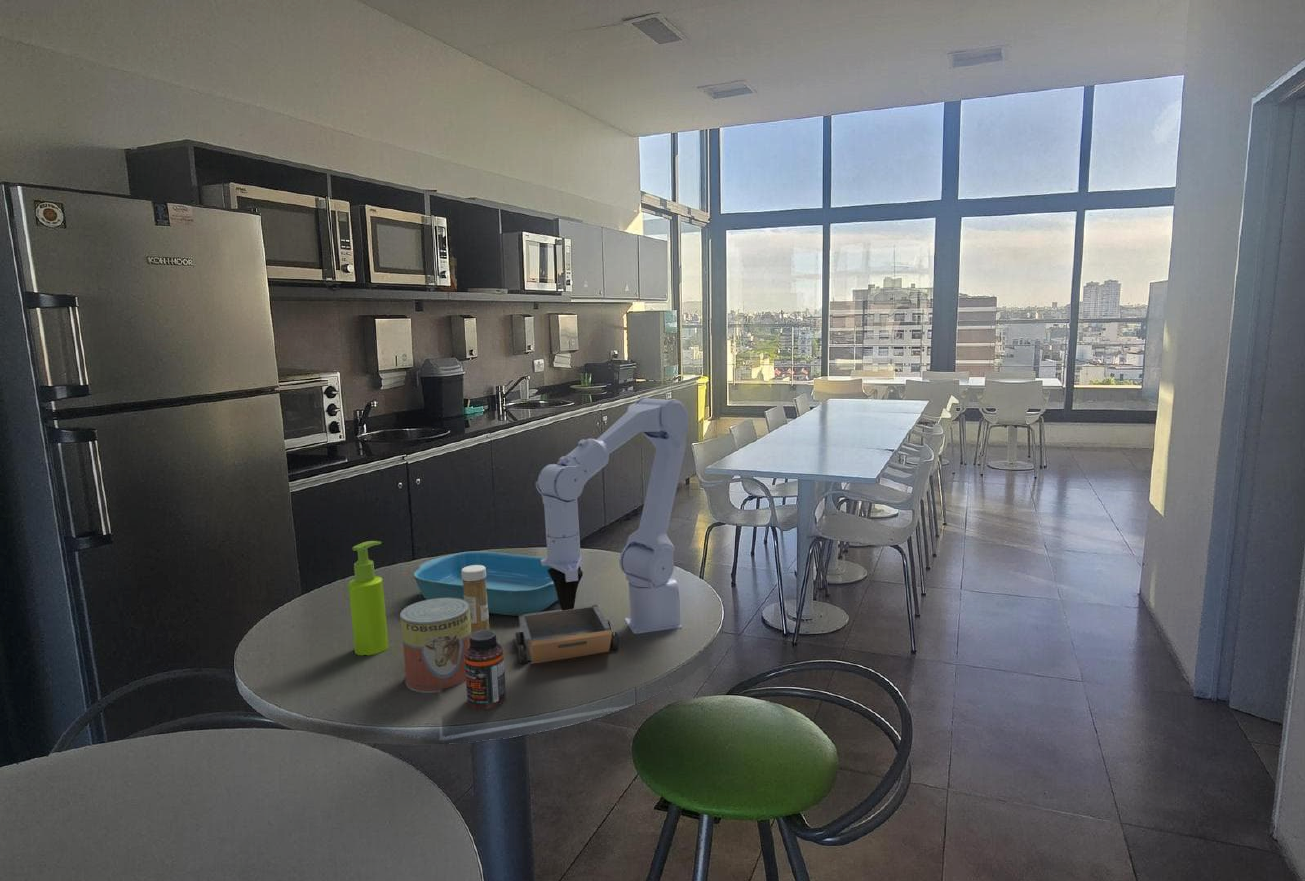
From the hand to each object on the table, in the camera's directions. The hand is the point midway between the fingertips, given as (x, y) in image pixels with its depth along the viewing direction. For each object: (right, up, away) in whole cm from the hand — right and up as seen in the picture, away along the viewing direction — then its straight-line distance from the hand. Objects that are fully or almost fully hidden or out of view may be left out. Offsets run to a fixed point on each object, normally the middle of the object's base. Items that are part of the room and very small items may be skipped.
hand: (567, 608), depth 133 cm
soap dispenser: (-37, -9, +8) cm, 39 cm away
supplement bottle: (-11, -12, -15) cm, 22 cm away
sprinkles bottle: (-18, -8, +12) cm, 23 cm away
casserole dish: (-19, -5, +33) cm, 38 cm away
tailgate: (+1, -8, 0) cm, 8 cm away
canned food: (-21, -11, -5) cm, 24 cm away
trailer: (-1, -8, +6) cm, 10 cm away
